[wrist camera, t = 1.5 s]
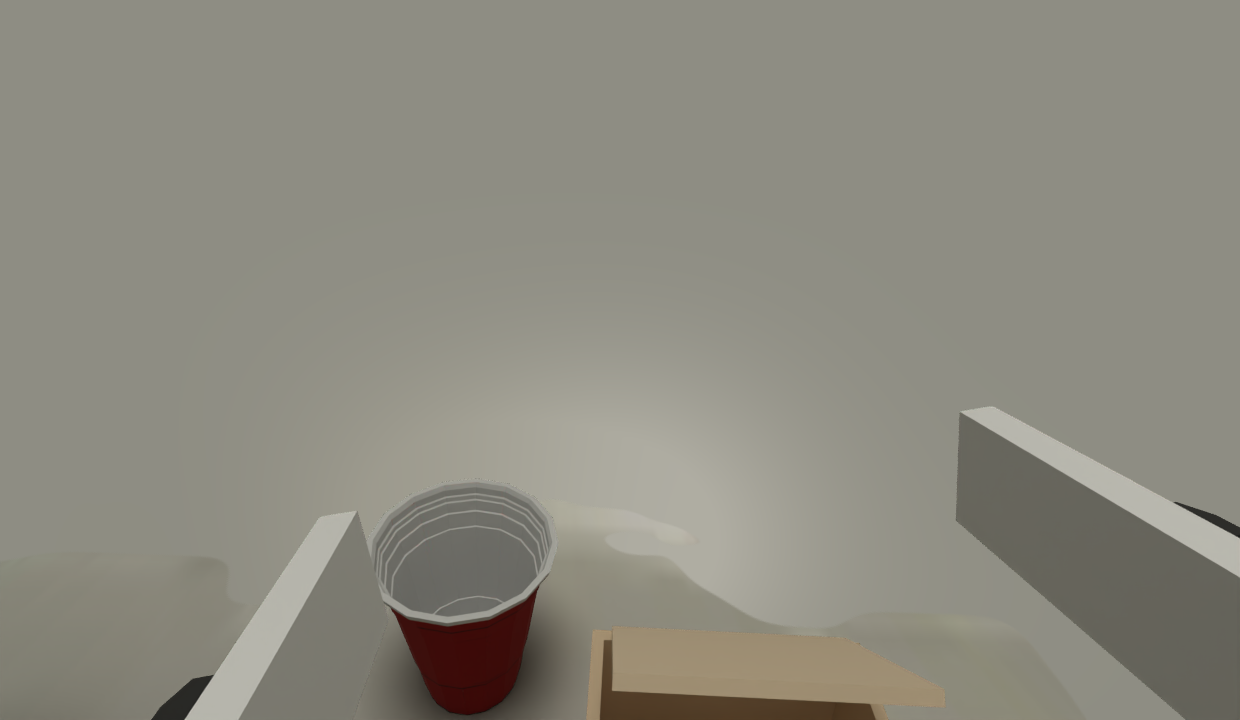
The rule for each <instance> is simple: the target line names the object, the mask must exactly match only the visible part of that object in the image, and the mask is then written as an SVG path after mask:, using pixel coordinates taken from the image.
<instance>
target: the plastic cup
mask: <svg viewBox="0 0 1240 720" xmlns="http://www.w3.org/2000/svg"><path fill="white" fill-rule="evenodd" d="M366 543H367V546H368V550H369V553H370V557H371V560H372V564H373V567H374V571H375V574H376V578H377V581H378V585H379V588H380V592H381V595H382V599H383V602H384V604H386V605H387V606H389V607H390V608H391V610H392V612H393V613H394V614H395V616H396V618H397V620H398V622H399V625H400V627H401V630H402V632H403V634H404V637H405V639H406V642H407V644H408V646H409V649H410V651H411V654H412V656H413V658H414V660H415V662H416V664H417V666H418V668H419V670H420V671H421V674H422V676H423V679H424V681H425V684H426V686H427V688H428V690H429V692H430V693H431V695H432V697H433V699H435V701H436V703H437V704H439V705H440V706H442V707H443V708H445V709H446V710H448V711H449V712H453V713H459V714H466V715H469V714H473V713H478V712H483V711H486V710H488V709H490V708H491V707H493V706H495V705H496V704H498V703H500V702H501V701H502V700H503V699H504V698H505V697H506V695H507V694H508V693H509V692H510V691H511V689H512V688H513V685H514V683H515V681H516V678H517V675H518V672H519V669H520V665H521V659H522V654H523V649H524V646H525V643H526V640H527V636H528V631H529V627H530V622H531V617H532V613H533V608H534V603H535V598H536V594H537V590H538V588H539V585H540V584H541V583H542V582H543V581H544V580H545V578H546V577H547V576H548V575H549V573H550V570H551V567H552V563H553V560H554V557H555V553H556V550H557V547H558V538H557V534H556V530H555V525H554V521H553V517H552V516H551V515H550V514H549V512H548V511H547V510H546V509H545V508H544V507H543V506H542V504H541V503H540V502H539V501H538V500H537V499H536V497H534V496H532V495H530V494H528V493H526V492H524V491H522V490H520V489H518V488H516V487H514V486H512V485H510V484H508V483H502V482H495V481H489V480H482V479H467V480H459V481H448V482H442V483H439V484H437V485H434V486H431V487H429V488H426V489H423V490H420V491H418V492H415V493H413V494H410V495H409V496H407V497H406V498H405V499H403V500H402V501H401V502H399V503H398V504H397V505H395V506H394V507H392V508H391V509H390V510H388V511H387V512H386V513H384V514H383V516H382V517H381V519H380V520H379V522H378V523H377V525H376V526H375V528H374V529H373V531H372V533H371V534H370V536H369V537H368V539H367V540H366Z"/></svg>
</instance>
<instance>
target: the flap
mask: <svg viewBox="0 0 1240 720" xmlns="http://www.w3.org/2000/svg"><path fill="white" fill-rule="evenodd" d="M612 691H627V692H647V693H667V694H687V695H706V696H726V697H746V698H766V699H786V700H806V701H826V702H846V703H866V704H886V705H906V706H926V707H945V692H944V689H943V688H941V687H939V686H937V685H935V684H933V683H931V682H929V681H927V680H926V679H924V678H922V677H920V676H918V675H916V674H914V673H912V672H910V671H908V670H906V669H904V668H902V667H900V666H899V665H897V664H895V663H893V662H891V661H889V660H887V659H885V658H883V657H881V656H879V655H877V654H875V653H873V652H872V651H870V650H868V649H866V648H864V647H862V646H860V645H858V644H856V643H854V642H852V641H850V640H848V639H846V638H837V637H817V636H797V635H778V634H758V633H738V632H718V631H698V630H678V629H658V628H639V627H619V626H612Z"/></svg>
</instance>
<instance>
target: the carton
mask: <svg viewBox="0 0 1240 720" xmlns="http://www.w3.org/2000/svg"><path fill="white" fill-rule="evenodd" d="M856 644H858V645H860V643H856ZM586 720H888V717H887V714H886V712H885V709H884V706H883V704H866V703H846V702H826V701H806V700H786V699H766V698H746V697H726V696H706V695H687V694H667V693H647V692H627V691H612V631H608V630H593V636H592V650H591V664H590V678H589V691H588V705H587V719H586Z"/></svg>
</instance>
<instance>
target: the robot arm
mask: <svg viewBox="0 0 1240 720" xmlns="http://www.w3.org/2000/svg"><path fill="white" fill-rule="evenodd" d="M957 476H958V477H957V504H956V521H957V522H958V523H959V524H961V525H962V526H963V527H964V528H965V529H966V530H968V531H969V532H970V533H971V534H972V535H973V536H974V537H976V538H977V539H978V540H979V541H980V542H982V544H984V545H985V546H986V547H987V548H988V549H989V550H991V551H992V552H993V553H994V554H995V555H996V556H998V557H999V558H1000V559H1001V560H1002V561H1003V562H1004V563H1006V564H1007V565H1008V566H1009V567H1010V568H1011V569H1012V570H1014V571H1015V572H1016V573H1017V574H1018V575H1020V576H1021V577H1022V578H1023V579H1024V580H1025V581H1026V582H1027V583H1029V584H1030V585H1031V586H1032V587H1033V588H1034V589H1036V590H1037V591H1038V592H1039V593H1040V594H1041V595H1043V596H1044V597H1045V598H1046V599H1047V600H1048V601H1049V602H1051V603H1052V604H1053V605H1054V606H1055V607H1057V608H1058V609H1059V610H1060V611H1061V612H1062V613H1063V614H1064V615H1066V616H1067V617H1068V618H1069V619H1070V620H1071V621H1073V622H1074V623H1075V624H1076V625H1077V626H1078V627H1079V628H1081V629H1082V630H1083V631H1084V632H1085V633H1086V634H1088V635H1089V636H1090V637H1091V638H1092V639H1093V640H1095V641H1096V642H1097V643H1098V644H1099V645H1100V646H1102V647H1103V648H1104V649H1105V650H1106V651H1107V652H1108V653H1109V654H1111V655H1112V656H1113V657H1114V658H1115V659H1116V660H1118V661H1119V662H1120V663H1121V664H1122V665H1123V666H1124V667H1126V668H1127V669H1128V670H1129V671H1130V672H1131V673H1133V674H1134V675H1135V676H1136V677H1137V678H1138V679H1140V680H1141V681H1142V682H1143V683H1144V684H1145V685H1147V686H1148V687H1149V688H1150V689H1151V690H1152V691H1153V692H1155V693H1156V694H1157V695H1158V696H1159V697H1160V698H1161V699H1163V700H1164V701H1165V702H1166V703H1167V704H1168V705H1169V706H1171V707H1172V708H1173V709H1174V710H1175V711H1177V712H1178V713H1179V714H1180V715H1181V716H1182V717H1183V718H1185V719H1186V720H1240V527H1238V526H1236V525H1234V524H1232V523H1230V522H1228V521H1226V520H1224V519H1222V518H1221V517H1219V516H1217V515H1214V514H1211V513H1208V512H1205V511H1202V510H1199V509H1195V508H1193V507H1190V506H1186V505H1184V504H1181V503H1178V502H1171V501H1169V500H1167V499H1165V498H1163V497H1162V496H1160V495H1158V494H1156V493H1154V492H1152V491H1150V490H1148V489H1147V488H1145V487H1143V486H1141V485H1139V484H1137V483H1135V482H1134V481H1132V480H1130V479H1128V478H1126V477H1124V476H1122V475H1120V474H1119V473H1117V472H1115V471H1113V470H1111V469H1109V468H1107V467H1105V466H1103V465H1102V464H1100V463H1098V462H1096V461H1094V460H1092V459H1091V458H1089V457H1087V456H1085V455H1083V454H1081V453H1079V452H1077V451H1076V450H1074V449H1072V448H1070V447H1068V446H1066V445H1064V444H1063V443H1061V442H1059V441H1057V440H1055V439H1053V438H1051V437H1049V436H1047V435H1046V434H1044V433H1042V432H1040V431H1038V430H1036V429H1034V428H1032V427H1031V426H1028V425H1027V424H1025V423H1023V422H1021V421H1020V420H1018V419H1016V418H1014V417H1012V416H1010V415H1008V414H1006V413H1005V412H1003V411H1001V410H999V409H997V408H995V407H993V406H990V407H985V408H979V409H972V410H966V411H961V412H960V417H959V447H958V475H957ZM387 623H388V616H387V613H386V609H385V606H384V602H383V599H382V595H381V592H380V588H379V585H378V581H377V578H376V574H375V571H374V567H373V564H372V560H371V557H370V553H369V550H368V546H367V543H366V539H365V536H364V532H363V529H362V526H361V522H360V518H359V515H358V511H352V512H346V513H340V514H334V515H328V516H322V517H319V519H318V521H317V522H316V523H315V525H314V526H313V528H312V530H311V531H310V533H309V534H308V535H307V537H306V538H305V540H304V541H303V543H302V544H301V546H300V547H299V549H298V551H297V552H296V553H295V555H294V557H293V558H292V559H291V561H290V562H289V564H288V565H287V567H286V568H285V570H284V572H283V573H282V574H281V576H280V578H279V579H278V581H277V582H276V583H275V585H274V586H273V588H272V589H271V591H270V593H269V594H268V595H267V597H266V598H265V600H264V601H263V603H262V604H261V606H260V607H259V609H258V610H257V612H256V613H255V615H254V616H253V618H252V619H251V621H250V622H249V624H248V625H247V627H246V628H245V630H244V631H243V633H242V634H241V636H240V637H239V639H238V640H237V642H236V643H235V645H234V646H233V648H232V649H231V651H230V652H229V654H228V655H227V657H226V658H225V660H224V661H223V663H222V664H221V666H220V667H219V669H218V670H217V672H216V673H215V675H211V676H206V677H200V678H194V679H192V680H191V681H190V682H189V683H187V684H186V685H185V686H184V687H183V688H182V689H181V690H179V691H178V692H177V693H176V694H175V695H174V696H173V697H171V698H170V699H169V700H168V701H167V702H166V703H165V704H164V705H162V706H161V707H160V708H159V710H158V711H157V713H156V714H155V715H154V717H153V718H152V719H151V720H353V717H354V714H355V712H356V709H357V706H358V703H359V700H360V698H361V695H362V692H363V689H364V687H365V684H366V681H367V678H368V676H369V673H370V670H371V667H372V665H373V662H374V659H375V656H376V653H377V651H378V648H379V645H380V642H381V640H382V637H383V634H384V631H385V629H386V626H387Z"/></svg>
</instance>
